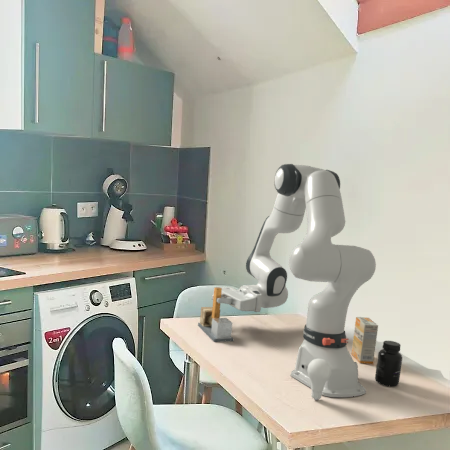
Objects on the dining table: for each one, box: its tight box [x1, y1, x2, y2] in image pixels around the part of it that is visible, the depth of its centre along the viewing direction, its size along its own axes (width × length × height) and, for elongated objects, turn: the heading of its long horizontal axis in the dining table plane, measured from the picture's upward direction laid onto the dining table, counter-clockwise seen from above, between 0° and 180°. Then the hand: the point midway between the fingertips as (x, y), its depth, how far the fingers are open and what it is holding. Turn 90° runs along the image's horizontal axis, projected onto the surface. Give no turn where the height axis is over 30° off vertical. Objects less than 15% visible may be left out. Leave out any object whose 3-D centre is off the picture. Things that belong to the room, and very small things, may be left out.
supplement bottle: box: [374, 340, 403, 388], centre depth 153 cm, size 7×7×12 cm
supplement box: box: [351, 316, 379, 365], centre depth 171 cm, size 8×5×13 cm, turn 6°
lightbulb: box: [307, 358, 331, 401], centre depth 137 cm, size 6×6×11 cm
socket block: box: [199, 306, 221, 326], centre depth 190 cm, size 4×6×6 cm, turn 111°
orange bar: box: [207, 286, 222, 326], centre depth 183 cm, size 10×4×14 cm, turn 21°
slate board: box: [197, 322, 235, 343], centre depth 185 cm, size 18×7×1 cm, turn 21°
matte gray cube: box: [211, 317, 233, 339], centre depth 179 cm, size 6×5×5 cm
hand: (214, 299), depth 184 cm, fingers closed on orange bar, 2 cm apart
